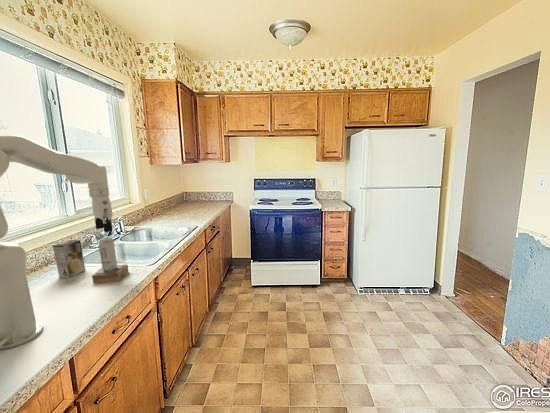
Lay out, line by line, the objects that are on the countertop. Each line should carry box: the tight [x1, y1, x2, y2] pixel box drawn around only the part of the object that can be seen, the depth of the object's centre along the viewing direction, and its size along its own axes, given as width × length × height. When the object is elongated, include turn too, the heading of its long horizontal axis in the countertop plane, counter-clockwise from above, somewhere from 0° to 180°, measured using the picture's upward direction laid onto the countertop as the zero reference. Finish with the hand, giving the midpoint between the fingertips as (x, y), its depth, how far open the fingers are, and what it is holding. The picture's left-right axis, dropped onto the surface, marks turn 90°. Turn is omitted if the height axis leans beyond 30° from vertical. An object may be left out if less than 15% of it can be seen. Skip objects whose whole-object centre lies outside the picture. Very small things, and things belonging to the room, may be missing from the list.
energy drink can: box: [98, 236, 118, 271], centre depth 129 cm, size 6×6×15 cm
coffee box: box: [52, 239, 86, 279], centre depth 136 cm, size 9×6×16 cm
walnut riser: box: [91, 263, 129, 284], centre depth 131 cm, size 11×11×4 cm
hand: (104, 230), depth 127 cm, fingers open, 9 cm apart
